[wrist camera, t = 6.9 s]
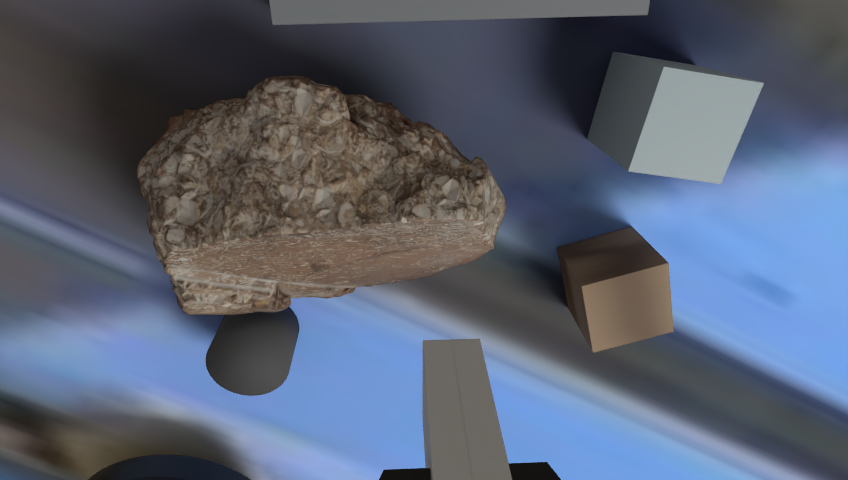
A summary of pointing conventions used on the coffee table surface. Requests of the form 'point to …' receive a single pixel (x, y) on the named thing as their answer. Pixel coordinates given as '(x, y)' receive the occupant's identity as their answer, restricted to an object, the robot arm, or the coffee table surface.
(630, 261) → the walnut cube
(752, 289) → the coffee table surface
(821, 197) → the coffee table surface
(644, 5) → the grey tray
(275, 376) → the dark grey cylinder
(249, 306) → the rock
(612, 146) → the bluegrey block
